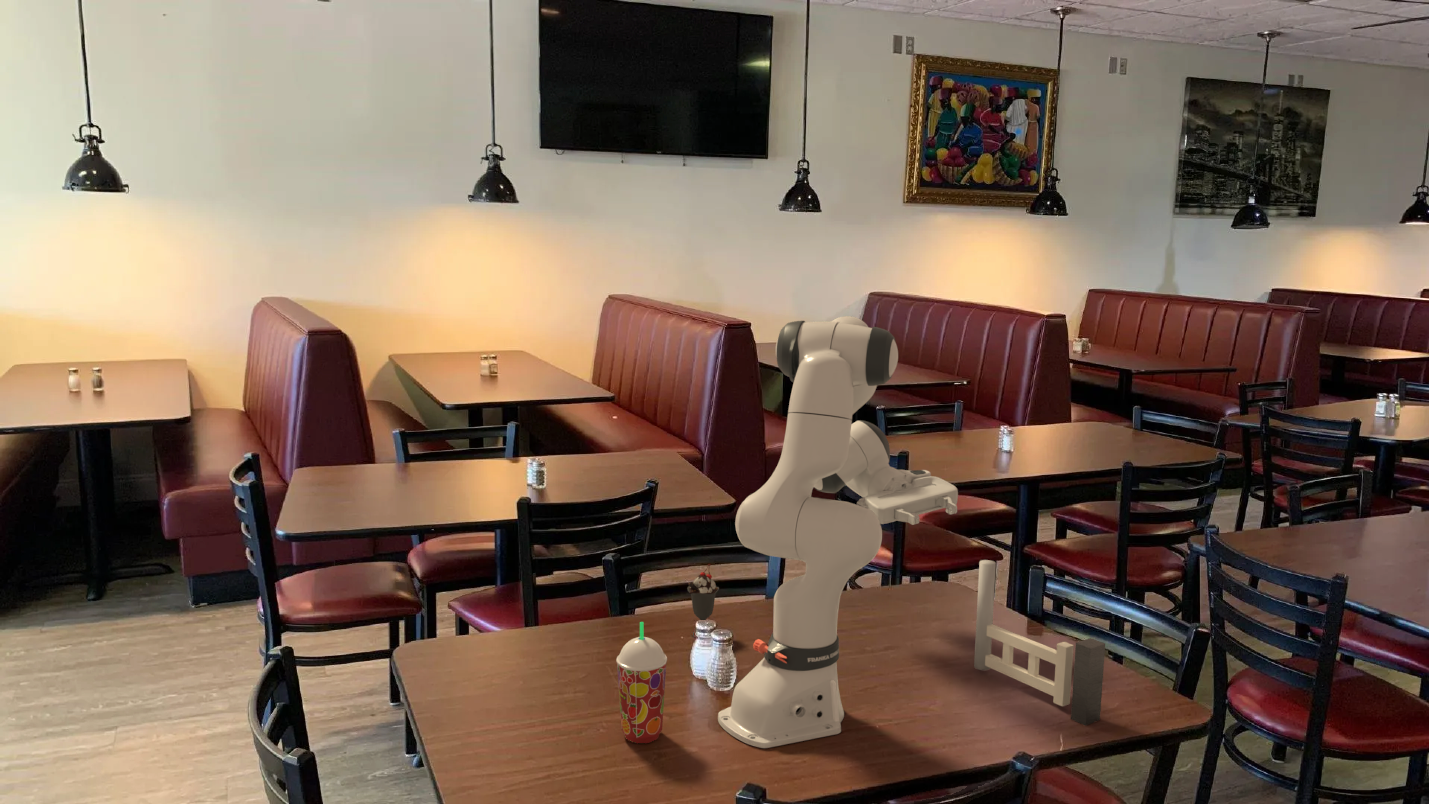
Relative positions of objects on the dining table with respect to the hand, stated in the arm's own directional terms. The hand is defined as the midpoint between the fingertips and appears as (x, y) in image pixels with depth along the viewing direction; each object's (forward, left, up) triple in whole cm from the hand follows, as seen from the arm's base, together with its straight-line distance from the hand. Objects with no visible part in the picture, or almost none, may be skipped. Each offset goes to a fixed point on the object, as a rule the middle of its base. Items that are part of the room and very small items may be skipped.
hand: (935, 515), depth 207 cm
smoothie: (-67, 0, -28) cm, 73 cm away
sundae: (-34, +32, -28) cm, 55 cm away
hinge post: (+1, -37, -28) cm, 46 cm away
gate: (+1, -22, -27) cm, 35 cm away
